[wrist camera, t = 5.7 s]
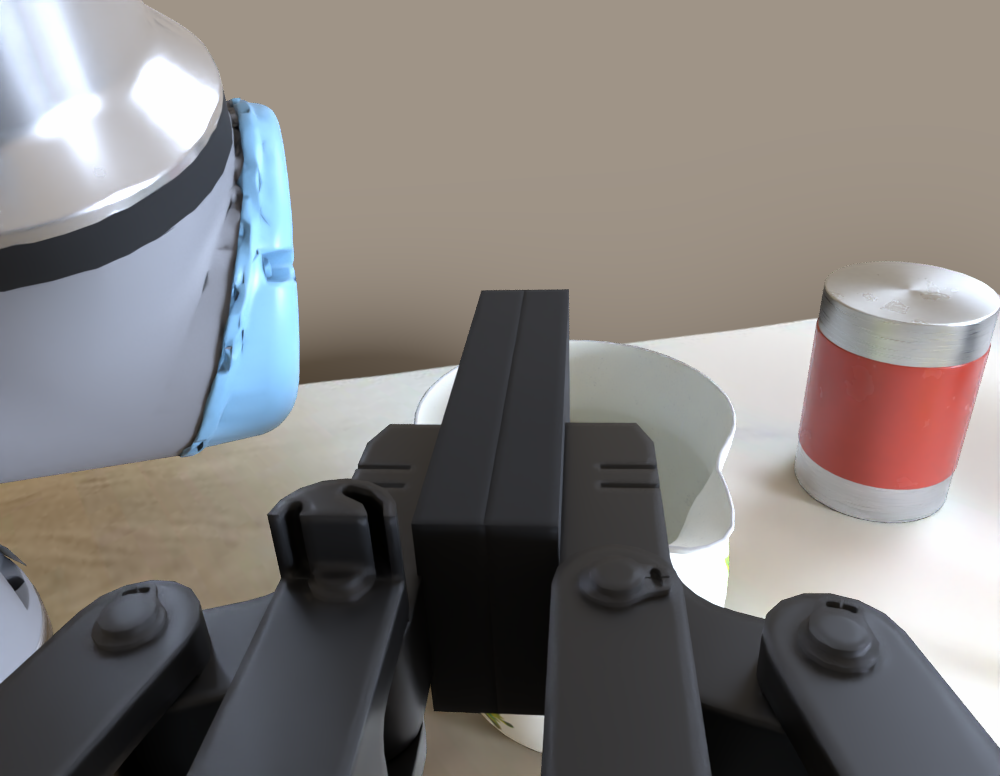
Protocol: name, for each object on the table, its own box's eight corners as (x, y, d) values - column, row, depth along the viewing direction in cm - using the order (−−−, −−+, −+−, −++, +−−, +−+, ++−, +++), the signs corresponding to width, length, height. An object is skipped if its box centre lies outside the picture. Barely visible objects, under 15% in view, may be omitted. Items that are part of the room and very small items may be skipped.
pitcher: (588, 511, 43) (591, 263, 36) (815, 813, 28) (892, 491, 21) (383, 567, 40) (344, 308, 33) (517, 939, 25) (496, 610, 18)
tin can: (810, 522, 41) (846, 325, 36) (780, 437, 48) (807, 260, 43) (971, 526, 41) (1033, 325, 35) (919, 440, 47) (964, 259, 42)
